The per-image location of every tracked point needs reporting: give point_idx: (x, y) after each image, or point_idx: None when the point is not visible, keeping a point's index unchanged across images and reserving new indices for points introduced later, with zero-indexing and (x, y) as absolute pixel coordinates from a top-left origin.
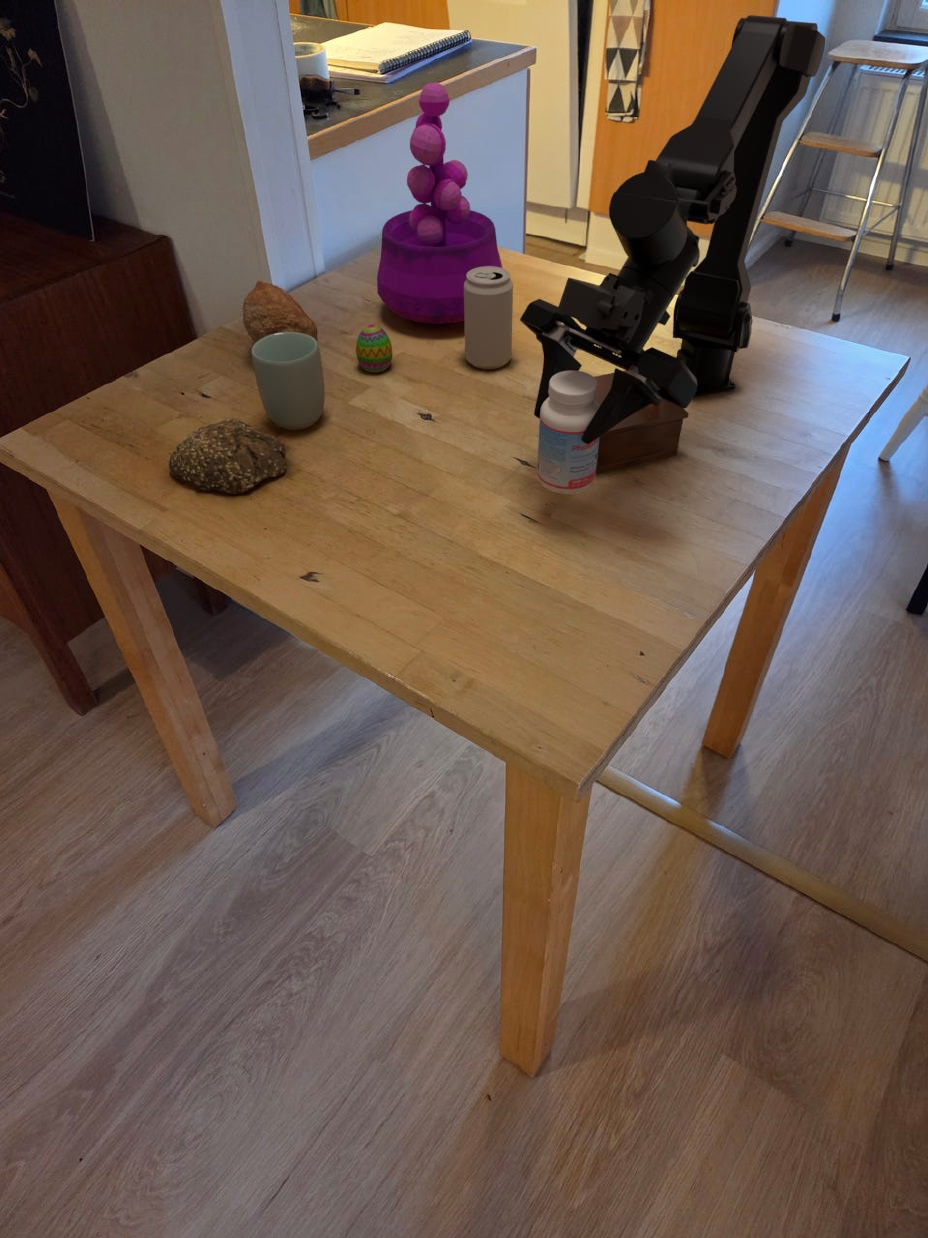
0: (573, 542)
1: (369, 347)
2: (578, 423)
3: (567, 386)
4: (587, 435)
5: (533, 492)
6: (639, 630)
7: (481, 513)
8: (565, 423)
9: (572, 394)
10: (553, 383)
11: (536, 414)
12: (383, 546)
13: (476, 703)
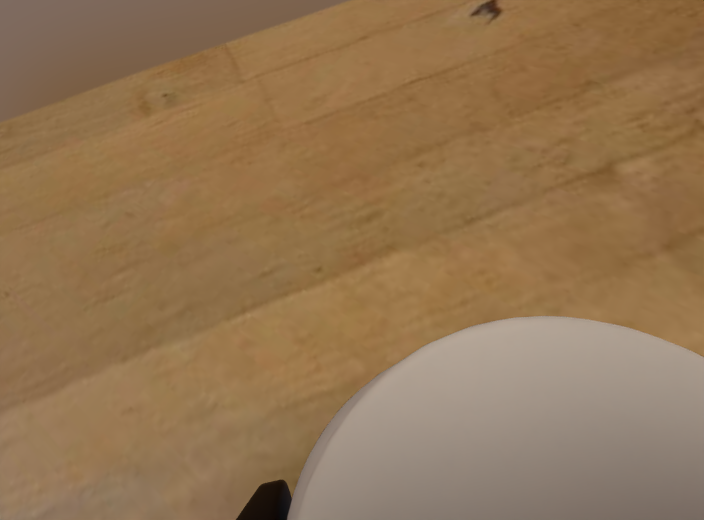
0: None
1: None
2: (305, 472)
3: (523, 471)
4: (251, 505)
5: None
6: (10, 405)
7: None
8: (357, 396)
9: (348, 416)
10: (648, 366)
11: None
12: (516, 114)
13: (111, 103)
